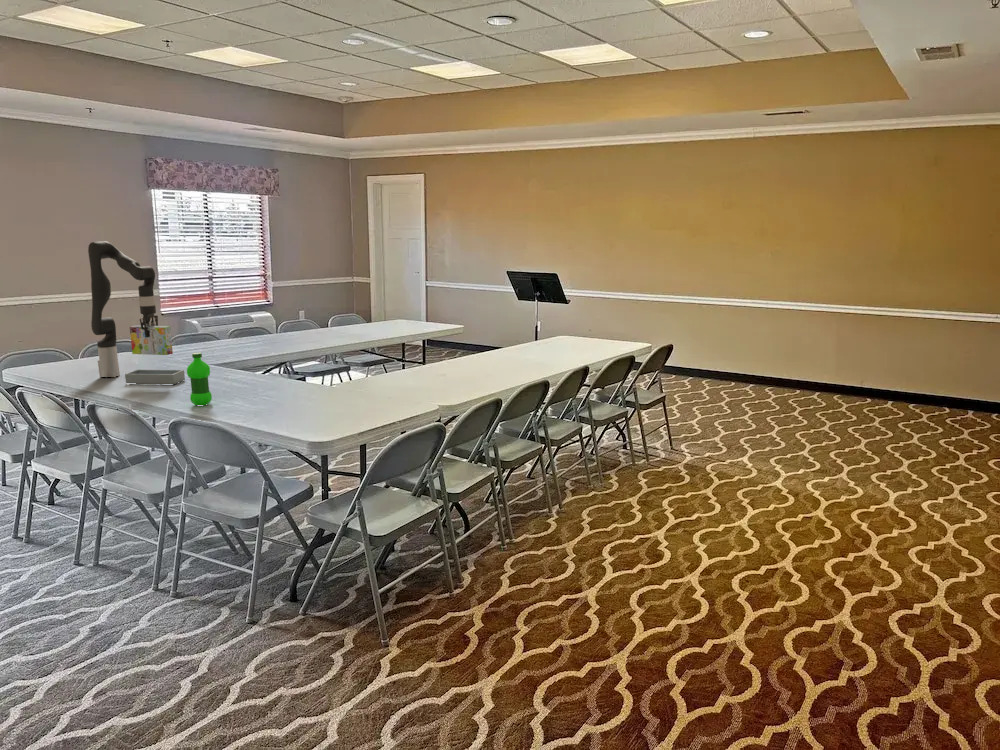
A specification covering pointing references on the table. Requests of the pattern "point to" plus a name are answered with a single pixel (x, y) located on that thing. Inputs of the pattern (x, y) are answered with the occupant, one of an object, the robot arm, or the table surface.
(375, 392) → the table surface
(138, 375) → the bin
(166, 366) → the table surface
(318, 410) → the table surface
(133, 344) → the snack box
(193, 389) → the plastic bottle
